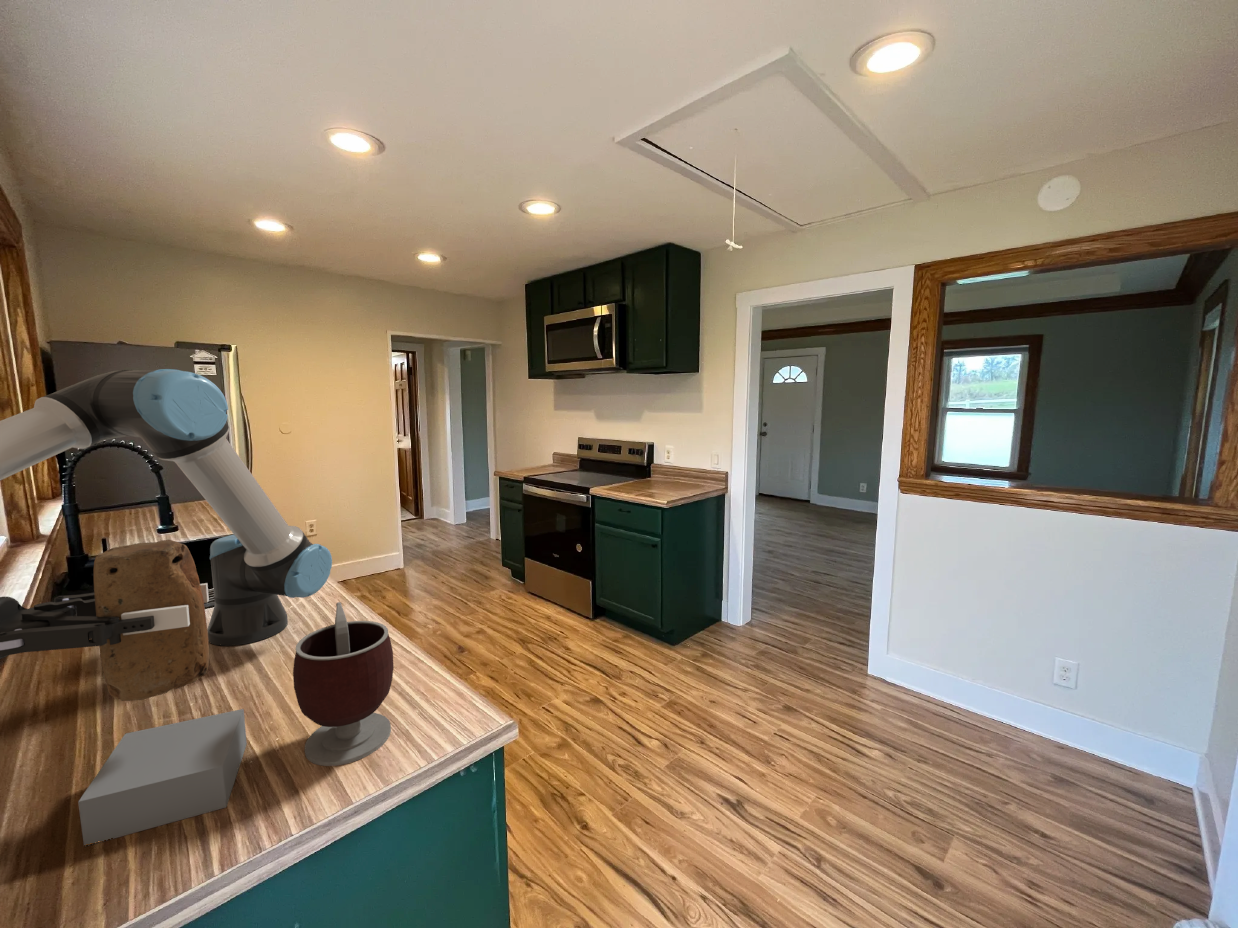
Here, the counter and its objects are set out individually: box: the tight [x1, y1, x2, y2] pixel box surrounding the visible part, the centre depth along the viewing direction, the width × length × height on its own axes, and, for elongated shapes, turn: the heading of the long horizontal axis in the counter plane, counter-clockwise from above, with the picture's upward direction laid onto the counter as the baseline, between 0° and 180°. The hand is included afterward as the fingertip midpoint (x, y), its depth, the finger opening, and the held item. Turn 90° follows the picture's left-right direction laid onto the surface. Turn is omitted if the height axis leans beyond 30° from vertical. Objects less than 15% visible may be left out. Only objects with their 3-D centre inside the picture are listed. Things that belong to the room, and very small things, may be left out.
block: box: [93, 539, 210, 702], centre depth 70 cm, size 11×8×20 cm
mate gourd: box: [292, 601, 395, 767], centre depth 82 cm, size 16×14×20 cm
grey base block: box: [78, 708, 248, 846], centre depth 71 cm, size 14×14×6 cm
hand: (198, 603), depth 72 cm, fingers closed on block, 8 cm apart
